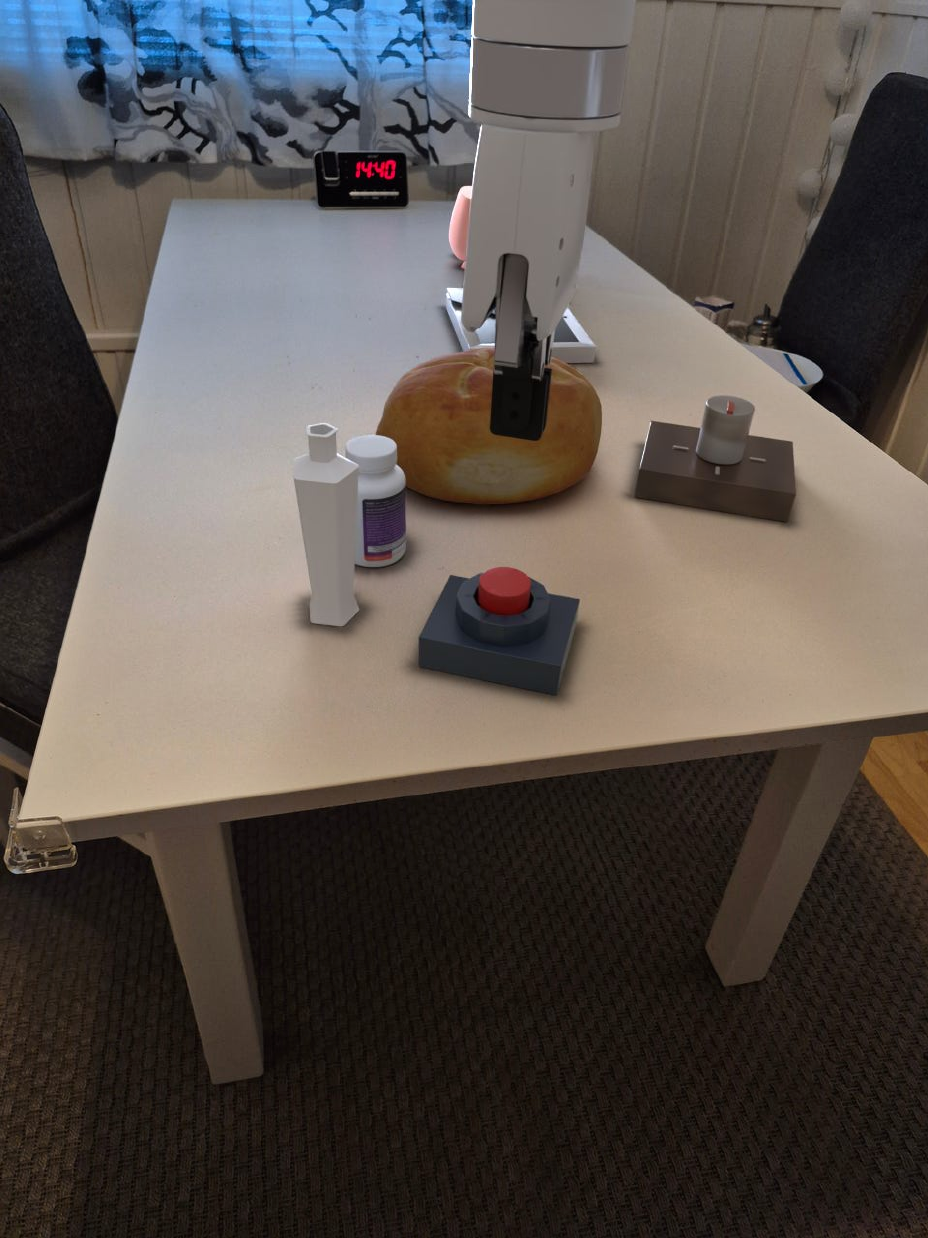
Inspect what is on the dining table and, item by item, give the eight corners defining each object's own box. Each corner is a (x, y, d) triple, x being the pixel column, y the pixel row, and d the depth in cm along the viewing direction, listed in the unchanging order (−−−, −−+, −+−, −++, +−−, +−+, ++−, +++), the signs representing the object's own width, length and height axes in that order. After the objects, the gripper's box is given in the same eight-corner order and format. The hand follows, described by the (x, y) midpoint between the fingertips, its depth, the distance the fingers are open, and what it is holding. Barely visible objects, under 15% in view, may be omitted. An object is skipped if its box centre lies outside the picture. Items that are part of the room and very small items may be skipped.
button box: (575, 627, 67) (583, 578, 64) (556, 695, 60) (564, 645, 58) (449, 602, 68) (450, 554, 66) (418, 666, 62) (418, 616, 60)
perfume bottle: (314, 637, 64) (299, 451, 55) (295, 604, 67) (277, 423, 58) (372, 621, 66) (367, 438, 57) (351, 590, 69) (342, 412, 60)
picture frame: (446, 308, 123) (468, 365, 107) (446, 287, 121) (469, 342, 105) (555, 307, 125) (593, 362, 109) (557, 286, 124) (596, 340, 107)
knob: (697, 440, 86) (708, 389, 83) (743, 447, 85) (756, 396, 82) (693, 460, 83) (705, 407, 79) (741, 468, 82) (755, 415, 79)
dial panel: (784, 468, 89) (793, 439, 87) (787, 522, 80) (796, 492, 78) (646, 446, 91) (651, 418, 89) (634, 497, 83) (639, 467, 81)
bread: (339, 428, 92) (334, 334, 86) (538, 399, 100) (547, 311, 94) (417, 540, 75) (418, 432, 69) (648, 494, 83) (667, 394, 77)
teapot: (530, 280, 135) (538, 195, 128) (454, 279, 134) (457, 193, 126) (511, 244, 151) (516, 166, 143) (442, 243, 149) (444, 165, 142)
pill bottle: (415, 541, 75) (416, 437, 69) (391, 575, 71) (389, 467, 65) (357, 528, 76) (353, 425, 71) (330, 560, 72) (323, 453, 66)
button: (533, 591, 63) (535, 571, 62) (523, 621, 60) (525, 600, 59) (484, 582, 64) (486, 562, 63) (472, 611, 61) (473, 590, 60)
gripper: (506, 65, 49) (487, 378, 61) (428, 98, 38) (423, 478, 49) (640, 75, 48) (595, 394, 59) (601, 113, 36) (555, 500, 48)
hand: (517, 431), depth 54 cm, fingers closed
